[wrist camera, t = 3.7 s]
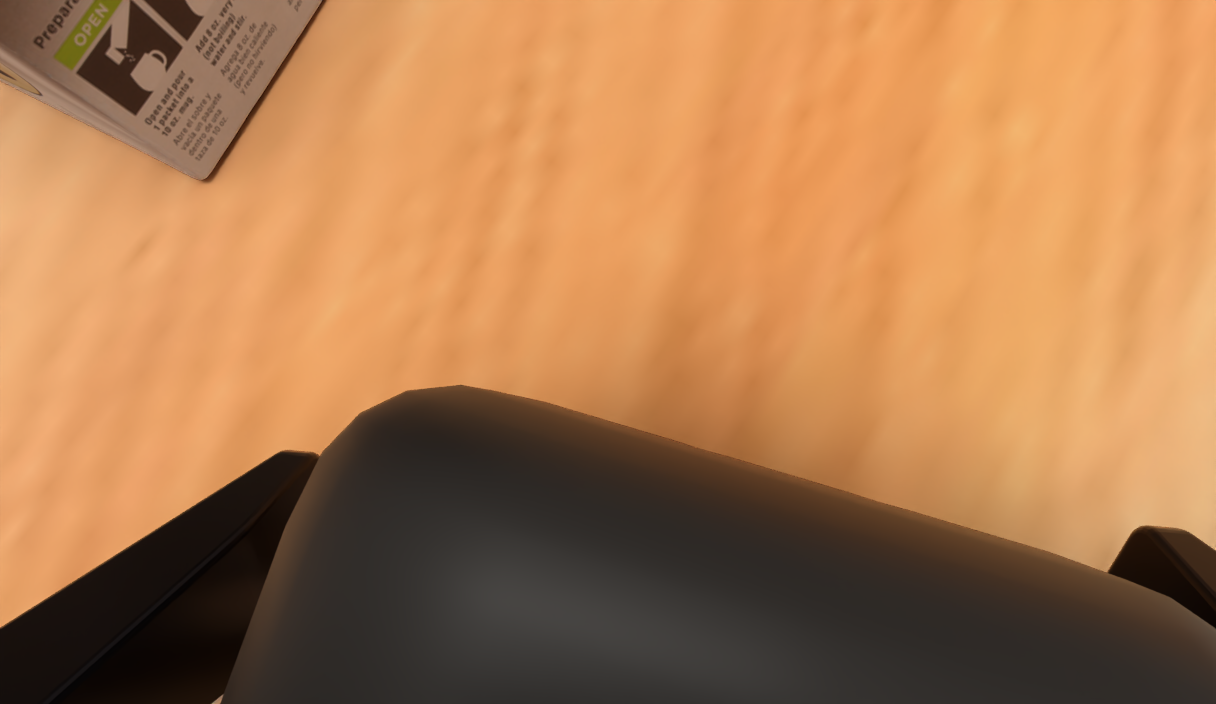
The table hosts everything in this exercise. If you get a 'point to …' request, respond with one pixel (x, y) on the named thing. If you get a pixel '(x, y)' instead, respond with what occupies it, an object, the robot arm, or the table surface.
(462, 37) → the table surface
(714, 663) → the battery charger
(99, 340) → the table surface
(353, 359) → the table surface
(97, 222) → the table surface
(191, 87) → the coffee box
